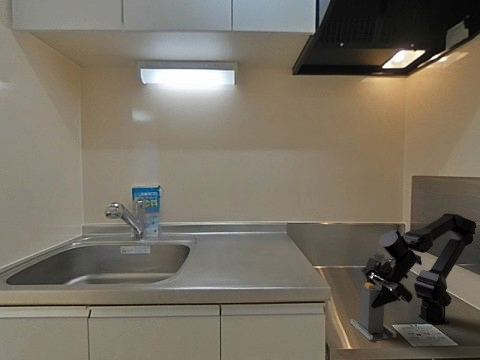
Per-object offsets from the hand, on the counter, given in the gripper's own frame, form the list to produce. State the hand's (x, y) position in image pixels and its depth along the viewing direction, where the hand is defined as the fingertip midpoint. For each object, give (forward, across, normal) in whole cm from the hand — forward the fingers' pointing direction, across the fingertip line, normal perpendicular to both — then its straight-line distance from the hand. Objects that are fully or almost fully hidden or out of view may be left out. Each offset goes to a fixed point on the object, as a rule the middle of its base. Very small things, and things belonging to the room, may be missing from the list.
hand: (367, 304), depth 99 cm
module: (+5, 0, +6) cm, 8 cm away
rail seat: (+5, 0, +7) cm, 8 cm away
